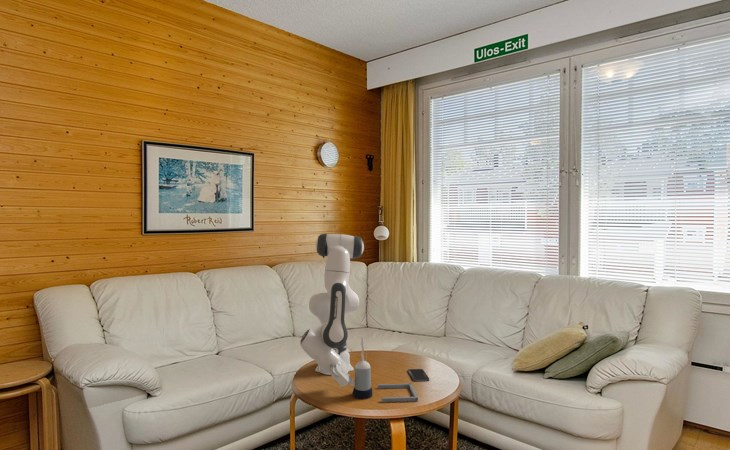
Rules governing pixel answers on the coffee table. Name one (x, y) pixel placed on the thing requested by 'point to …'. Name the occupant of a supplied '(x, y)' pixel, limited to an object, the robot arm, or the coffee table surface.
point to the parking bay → (398, 399)
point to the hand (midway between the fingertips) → (353, 384)
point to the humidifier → (362, 378)
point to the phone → (418, 375)
